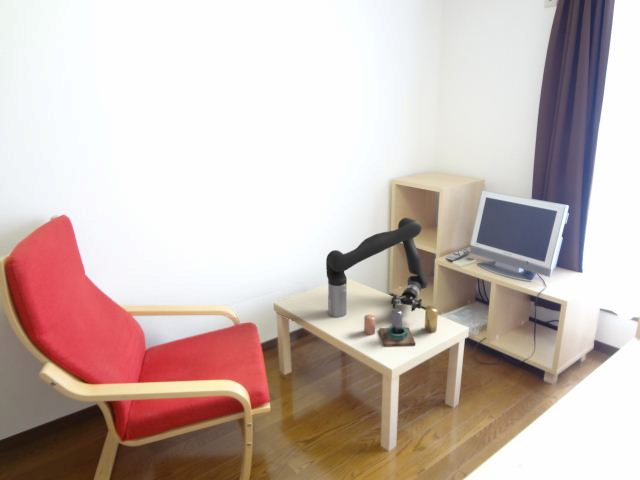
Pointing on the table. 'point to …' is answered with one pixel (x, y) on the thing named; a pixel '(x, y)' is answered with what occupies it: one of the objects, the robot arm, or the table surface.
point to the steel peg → (397, 321)
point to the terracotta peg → (369, 324)
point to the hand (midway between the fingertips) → (403, 308)
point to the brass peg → (431, 319)
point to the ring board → (396, 337)
